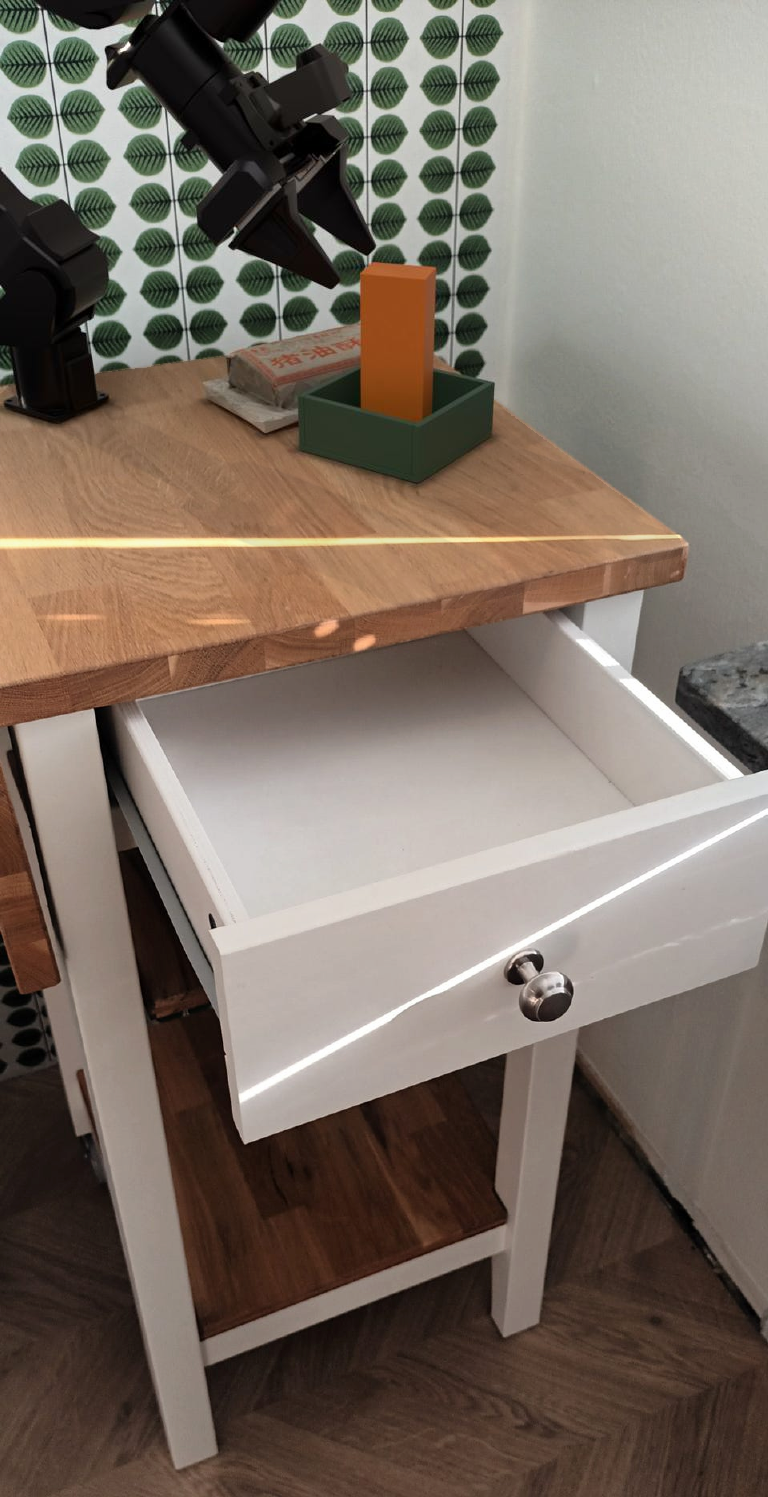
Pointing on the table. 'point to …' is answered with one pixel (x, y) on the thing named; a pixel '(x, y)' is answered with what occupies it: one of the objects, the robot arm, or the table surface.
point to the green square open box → (396, 425)
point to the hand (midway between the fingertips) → (355, 267)
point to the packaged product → (283, 374)
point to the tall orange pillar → (397, 339)
